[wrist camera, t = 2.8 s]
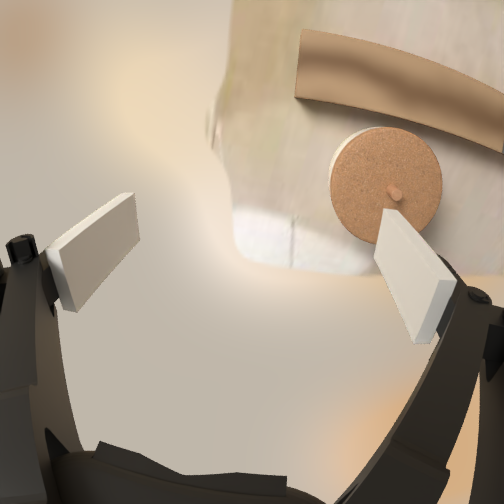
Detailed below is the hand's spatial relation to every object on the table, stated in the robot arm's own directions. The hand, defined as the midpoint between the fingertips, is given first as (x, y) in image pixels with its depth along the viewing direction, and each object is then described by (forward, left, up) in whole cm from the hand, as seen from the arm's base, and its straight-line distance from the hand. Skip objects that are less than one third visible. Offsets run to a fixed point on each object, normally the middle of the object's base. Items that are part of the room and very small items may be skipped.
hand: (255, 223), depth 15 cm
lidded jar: (0, +11, -19) cm, 22 cm away
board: (-10, +18, -19) cm, 28 cm away
